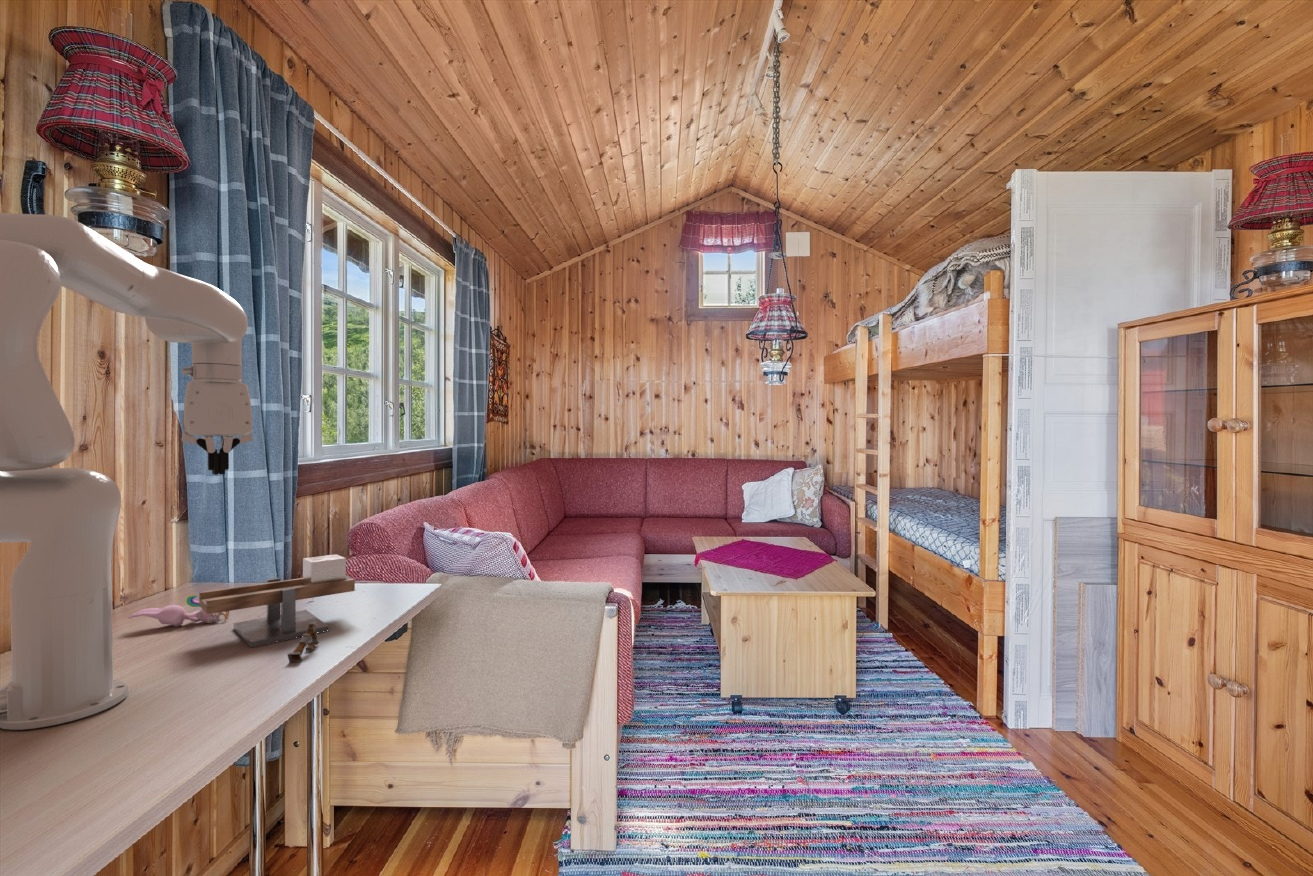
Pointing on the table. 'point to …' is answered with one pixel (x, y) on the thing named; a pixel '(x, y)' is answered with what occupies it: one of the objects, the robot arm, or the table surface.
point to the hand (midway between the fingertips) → (218, 473)
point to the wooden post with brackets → (305, 643)
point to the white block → (323, 569)
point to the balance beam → (267, 594)
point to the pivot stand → (278, 622)
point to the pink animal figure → (180, 614)
